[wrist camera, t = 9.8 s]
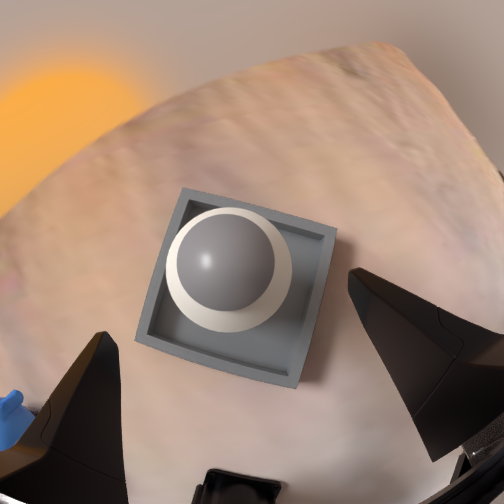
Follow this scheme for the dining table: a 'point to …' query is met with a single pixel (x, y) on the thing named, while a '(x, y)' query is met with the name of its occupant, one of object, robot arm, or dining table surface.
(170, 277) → the bottle
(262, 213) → the dish
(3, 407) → the blue mole toy
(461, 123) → the dining table surface
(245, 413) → the dining table surface
